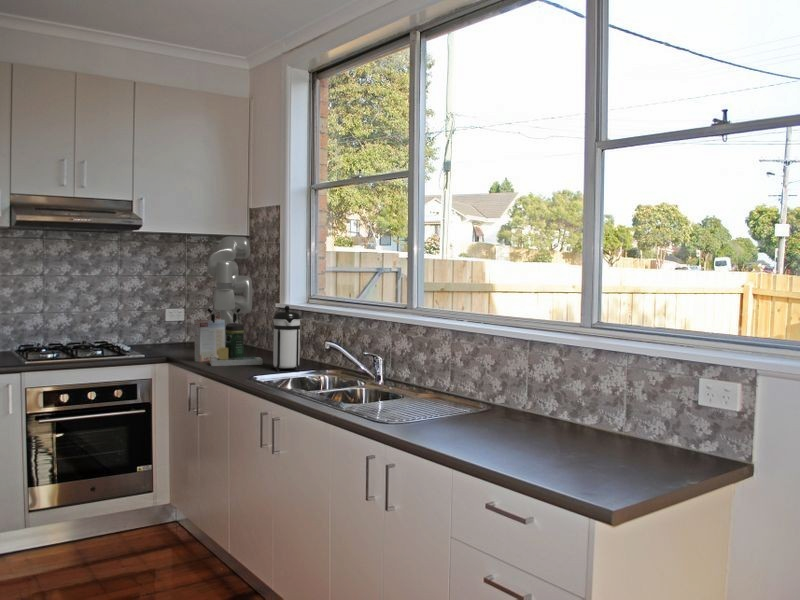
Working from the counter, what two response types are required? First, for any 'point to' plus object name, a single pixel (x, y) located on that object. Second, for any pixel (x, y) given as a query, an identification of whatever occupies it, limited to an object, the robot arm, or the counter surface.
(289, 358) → the coffee press
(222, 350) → the brass post
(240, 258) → the robot arm
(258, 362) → the rail
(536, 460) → the counter surface
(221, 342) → the cracker box
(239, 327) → the coffee jar
